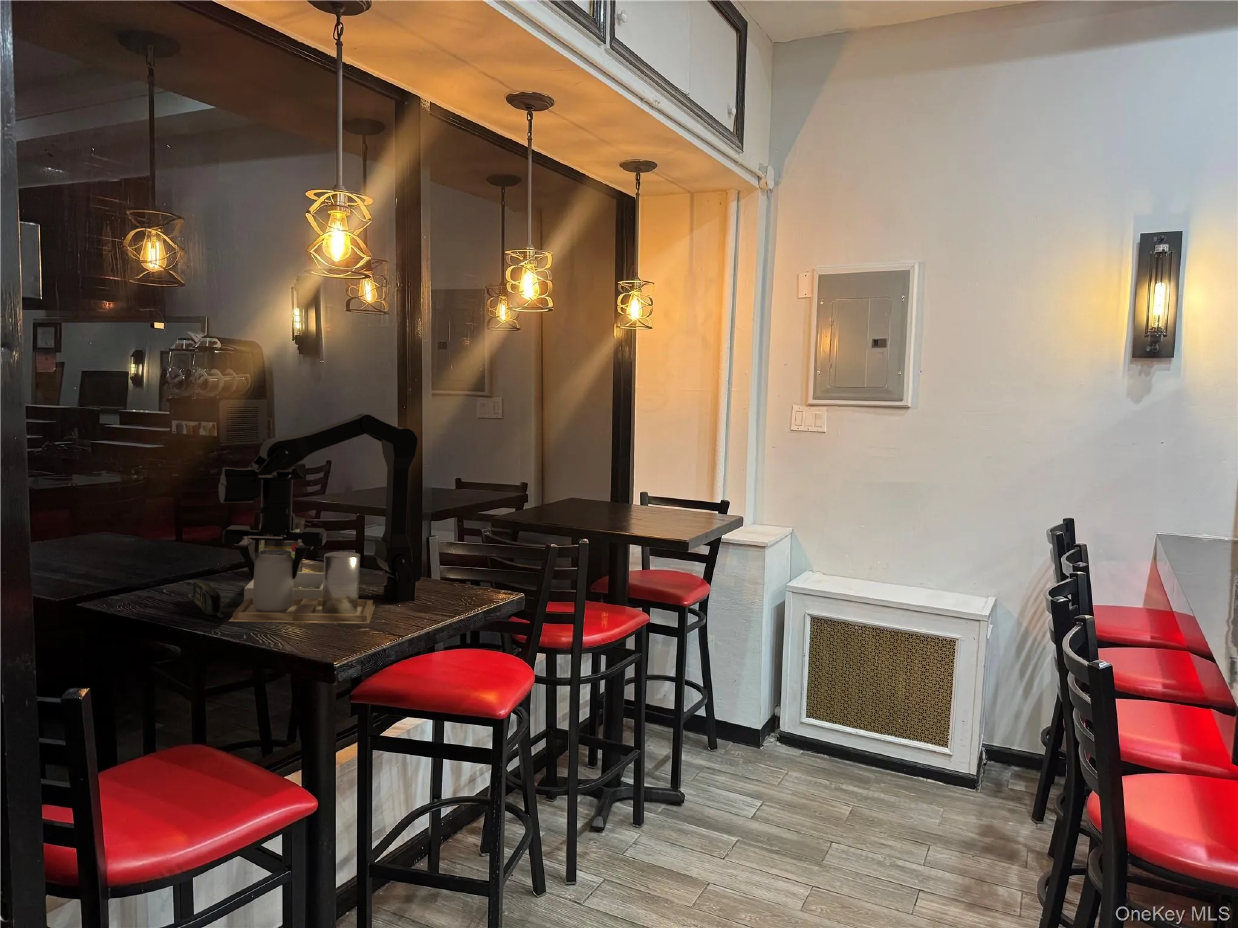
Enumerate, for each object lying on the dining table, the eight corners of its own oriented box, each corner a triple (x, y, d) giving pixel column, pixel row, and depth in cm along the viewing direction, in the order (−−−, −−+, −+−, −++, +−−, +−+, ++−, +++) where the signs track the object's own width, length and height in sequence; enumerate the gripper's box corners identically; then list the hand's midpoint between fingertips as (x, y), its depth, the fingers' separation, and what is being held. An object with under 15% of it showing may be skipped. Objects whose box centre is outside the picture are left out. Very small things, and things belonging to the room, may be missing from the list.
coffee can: (311, 576, 200) (314, 520, 198) (275, 583, 191) (277, 524, 189) (284, 568, 205) (286, 514, 203) (247, 575, 196) (249, 518, 194)
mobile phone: (190, 580, 171) (211, 595, 160) (206, 578, 173) (227, 593, 162) (190, 603, 171) (211, 619, 160) (205, 601, 173) (227, 617, 162)
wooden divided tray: (375, 610, 175) (375, 598, 174) (368, 630, 161) (369, 617, 161) (246, 608, 169) (246, 595, 169) (228, 628, 156) (228, 614, 155)
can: (277, 616, 159) (279, 556, 158) (244, 611, 161) (246, 552, 160) (300, 607, 166) (302, 549, 165) (268, 602, 168) (270, 545, 167)
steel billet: (359, 608, 170) (362, 552, 169) (355, 617, 164) (358, 559, 162) (324, 607, 169) (326, 551, 168) (318, 617, 162) (321, 558, 161)
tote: (332, 589, 189) (332, 572, 188) (321, 608, 173) (322, 589, 173) (260, 588, 185) (261, 570, 185) (243, 606, 170) (244, 588, 170)
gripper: (331, 497, 171) (328, 569, 173) (237, 493, 167) (234, 567, 169) (323, 505, 160) (320, 582, 162) (222, 501, 157) (219, 580, 158)
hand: (274, 577), depth 163 cm, fingers closed on can, 7 cm apart
